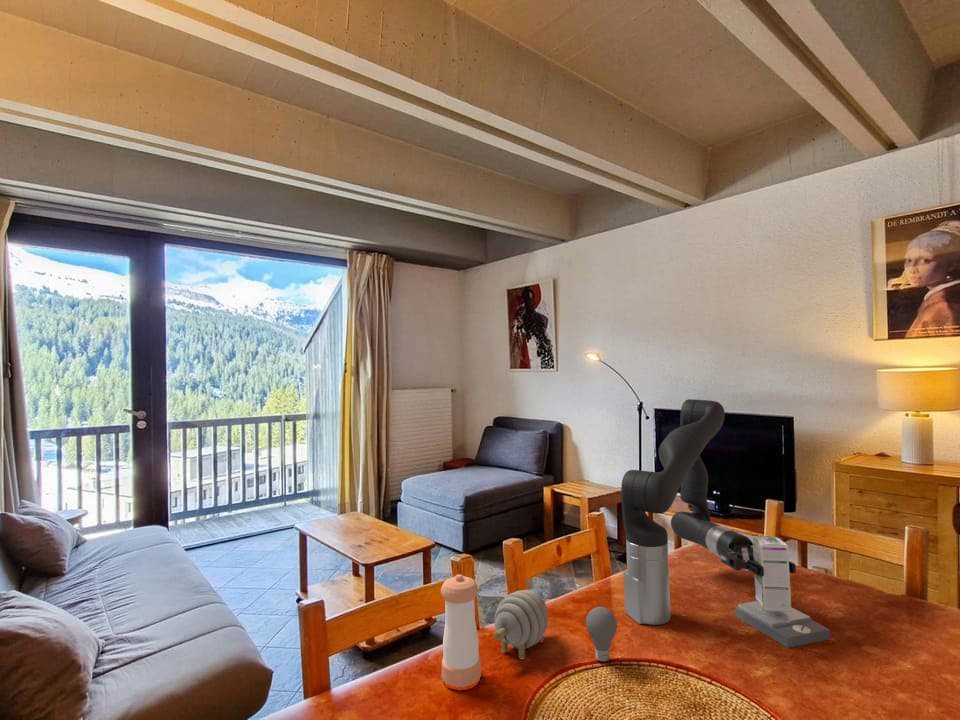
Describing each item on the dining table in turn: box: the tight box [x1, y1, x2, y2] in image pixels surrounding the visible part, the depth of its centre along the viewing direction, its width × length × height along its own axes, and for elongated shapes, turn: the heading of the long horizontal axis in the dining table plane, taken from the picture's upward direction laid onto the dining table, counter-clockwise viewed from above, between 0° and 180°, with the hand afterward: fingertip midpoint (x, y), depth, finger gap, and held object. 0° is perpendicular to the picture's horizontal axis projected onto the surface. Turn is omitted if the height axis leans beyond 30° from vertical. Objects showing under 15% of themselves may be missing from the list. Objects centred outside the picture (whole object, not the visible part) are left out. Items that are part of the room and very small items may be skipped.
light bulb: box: [585, 606, 618, 662], centre depth 98 cm, size 6×6×10 cm
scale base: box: [734, 606, 831, 649], centre depth 109 cm, size 11×14×2 cm
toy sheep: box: [493, 589, 549, 659], centre depth 103 cm, size 11×17×11 cm, turn 148°
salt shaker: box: [440, 573, 482, 687], centre depth 93 cm, size 7×7×19 cm
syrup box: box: [752, 535, 792, 612], centre depth 111 cm, size 6×6×14 cm
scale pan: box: [737, 600, 812, 628], centre depth 110 cm, size 10×10×1 cm
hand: (778, 570), depth 109 cm, fingers closed on syrup box, 7 cm apart
